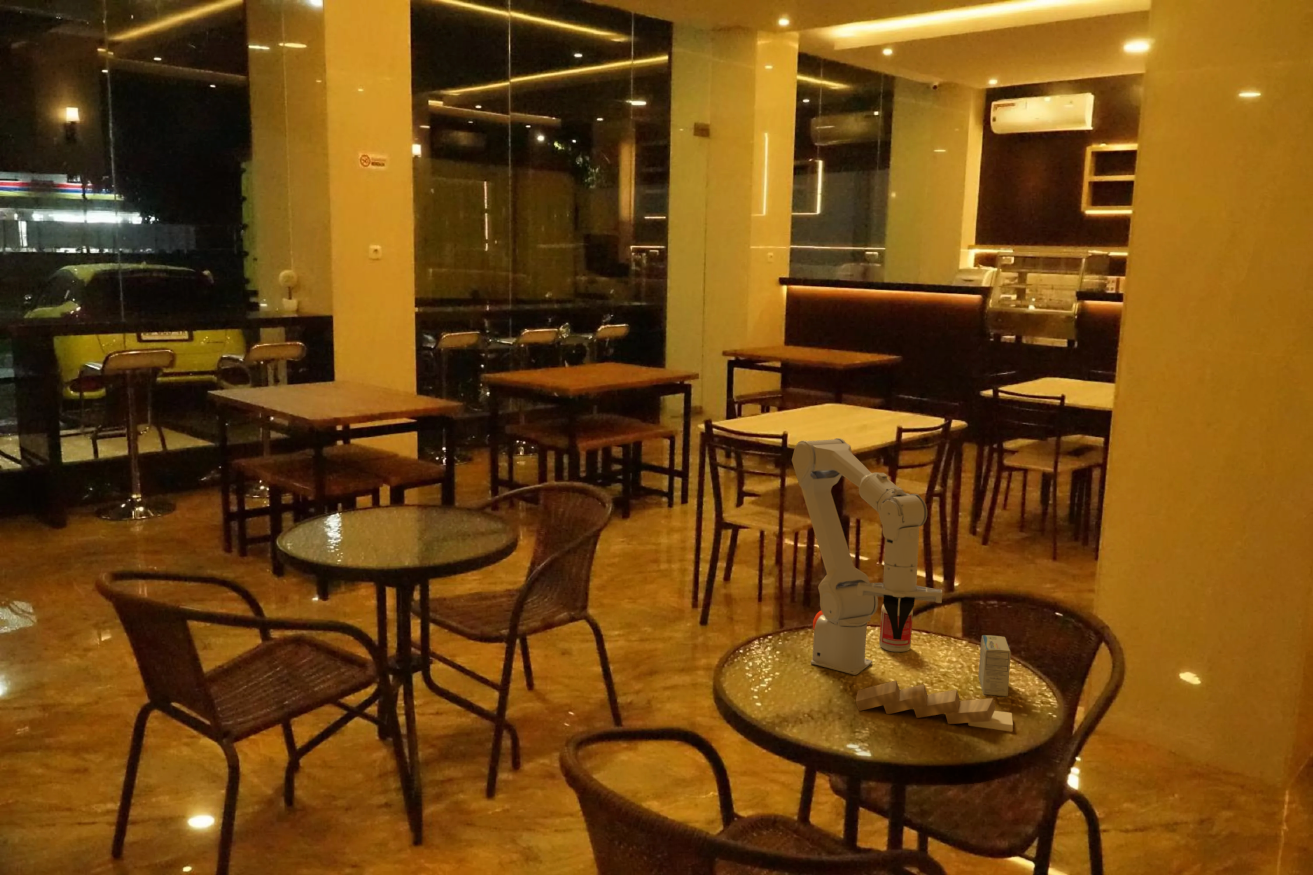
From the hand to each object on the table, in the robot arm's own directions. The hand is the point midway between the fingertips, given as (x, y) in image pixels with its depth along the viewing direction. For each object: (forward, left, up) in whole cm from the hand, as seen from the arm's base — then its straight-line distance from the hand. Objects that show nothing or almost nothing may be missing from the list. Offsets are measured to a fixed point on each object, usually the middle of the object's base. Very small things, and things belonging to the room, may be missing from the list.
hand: (897, 637), depth 185 cm
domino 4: (+12, -4, -9) cm, 16 cm away
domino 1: (-3, -9, -10) cm, 13 cm away
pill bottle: (-8, +22, -11) cm, 26 cm away
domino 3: (+6, -5, -10) cm, 13 cm away
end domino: (+14, -2, -10) cm, 18 cm away
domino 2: (+1, -7, -10) cm, 12 cm away
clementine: (-20, +17, -11) cm, 29 cm away
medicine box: (+14, +14, -11) cm, 22 cm away
